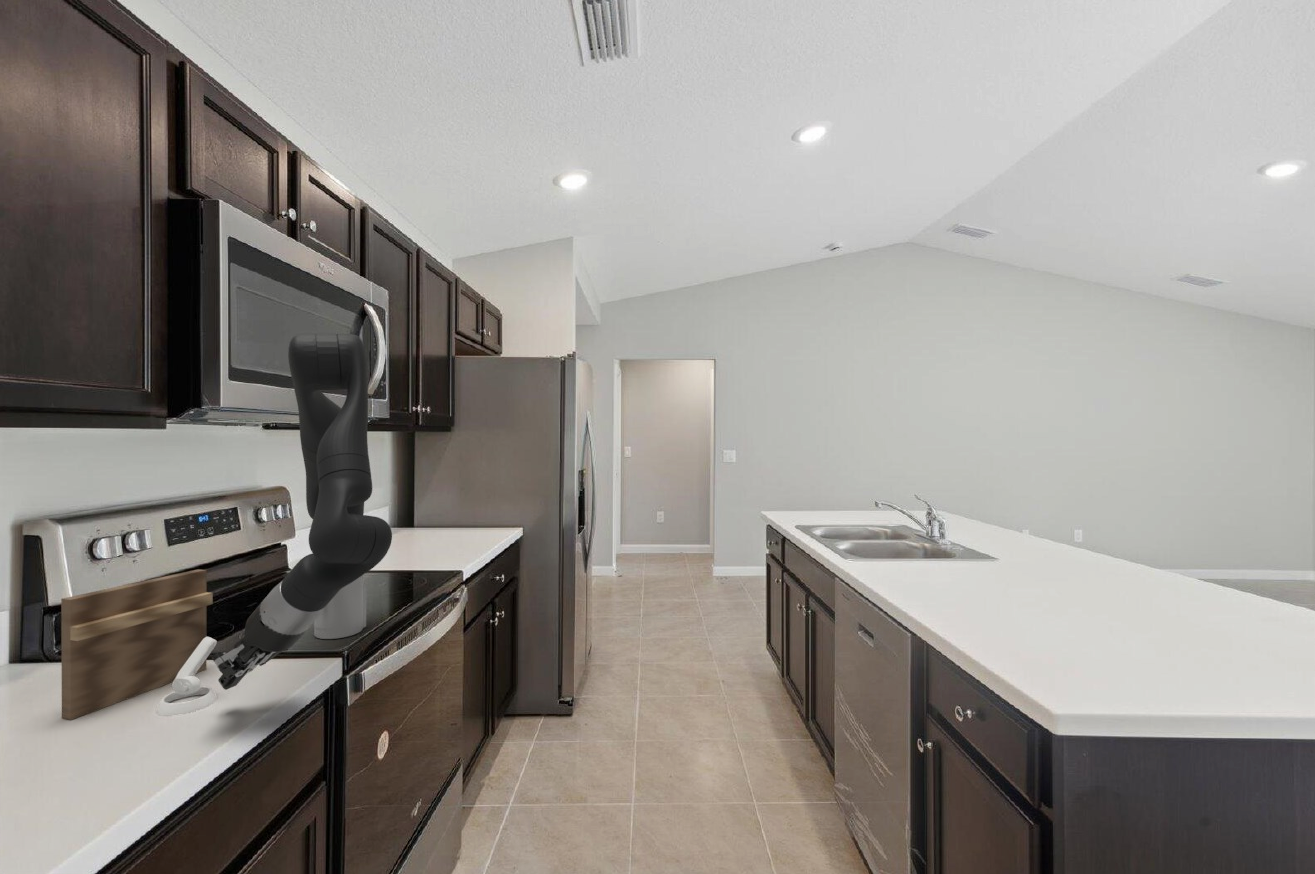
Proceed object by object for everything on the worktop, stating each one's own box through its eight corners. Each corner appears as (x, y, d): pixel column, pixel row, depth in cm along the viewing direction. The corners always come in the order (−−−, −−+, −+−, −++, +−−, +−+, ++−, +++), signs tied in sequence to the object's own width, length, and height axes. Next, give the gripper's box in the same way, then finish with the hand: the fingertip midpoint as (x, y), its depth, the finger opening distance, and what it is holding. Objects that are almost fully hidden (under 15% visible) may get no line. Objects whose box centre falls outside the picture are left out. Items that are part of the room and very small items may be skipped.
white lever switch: (258, 656, 101) (231, 645, 95) (209, 730, 95) (177, 724, 89) (223, 642, 103) (194, 631, 97) (173, 715, 97) (139, 707, 91)
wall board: (198, 667, 109) (198, 569, 109) (212, 670, 108) (212, 570, 108) (61, 718, 90) (61, 598, 89) (77, 721, 89) (77, 600, 88)
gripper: (311, 582, 95) (253, 649, 99) (231, 605, 83) (167, 681, 86) (338, 618, 94) (277, 685, 98) (260, 647, 81) (194, 723, 85)
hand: (226, 683), depth 92 cm, fingers closed
